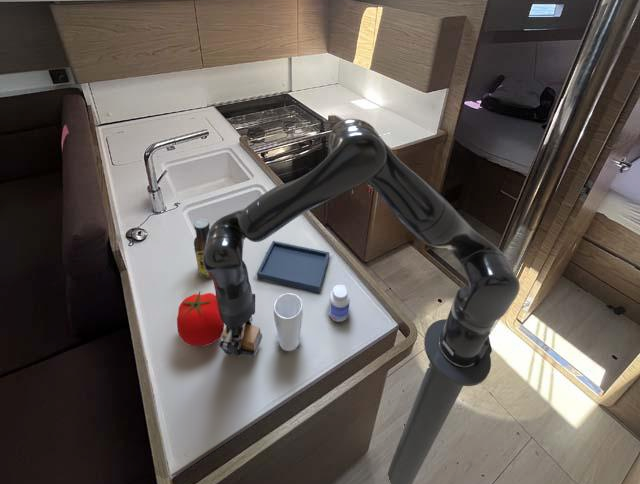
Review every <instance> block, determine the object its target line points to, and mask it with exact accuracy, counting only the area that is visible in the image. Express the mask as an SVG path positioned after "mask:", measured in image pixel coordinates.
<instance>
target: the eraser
mask: <svg viewBox="0 0 640 484" xmlns="http://www.w3.org/2000/svg"><path fill="white" fill-rule="evenodd" d="M226 336H227V333H226V327H225V328H224V330H223V333H222V335H221V337H222V341H224V340H225V339H226ZM262 338H263V334H262V332H261V327H260V326H256V325H249V324H245V328H244V336H243V339H242V340H241V346H242V352H243V353H242V355H244V356H248V357H253V358H255V356H256V354H257V352H258V349H259V347H260V343H261V342H262ZM233 342H237V341H235V340H233Z"/></svg>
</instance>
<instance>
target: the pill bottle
mask: <svg viewBox="0 0 640 484" xmlns="http://www.w3.org/2000/svg"><path fill="white" fill-rule="evenodd" d="M350 296H351V295H350V293H349V292H348V287H347V286H345V285H344V284H335V285H334V287H333V288H332V291H331V292H330V295H329V307H328V308H329V309H328V314H329V316H330V318H331V320H333V321H334V322H338V323H339V322H340V323H341V322H344V321H346V320H347V319H348V316H349V313H350V301H351V297H350Z"/></svg>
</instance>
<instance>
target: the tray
mask: <svg viewBox="0 0 640 484" xmlns="http://www.w3.org/2000/svg"><path fill="white" fill-rule="evenodd" d="M329 260H330V252H329V251H325V250H320V249H315V248H311V247H306V246H300V245H295V244H290V243H286V242H282V241H276V240H272V242H271V244H270V245H269V248H268V249H267V252H266V253H265V256H264V258H263V260H262V262H261V264H260V266H259V268H258V270H257V272H256V277H257V279H259V280H263V281H267V282H271V283H276V284H281V285H284V286H289V287H294V288H297V289H302V290H306V291H310V292H314V293H320V292H321V289H322V284H323V281H324V278H325V274H326V271H327V267H328V263H329Z"/></svg>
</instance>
